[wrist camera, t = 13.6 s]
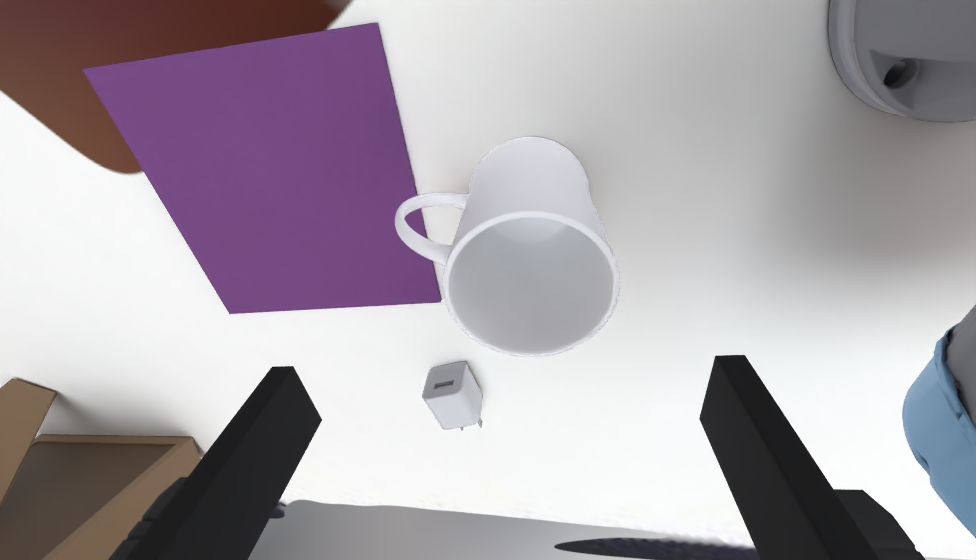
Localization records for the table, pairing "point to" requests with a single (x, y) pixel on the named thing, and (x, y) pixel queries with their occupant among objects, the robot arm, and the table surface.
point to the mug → (523, 251)
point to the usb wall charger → (453, 396)
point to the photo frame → (75, 482)
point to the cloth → (279, 167)
